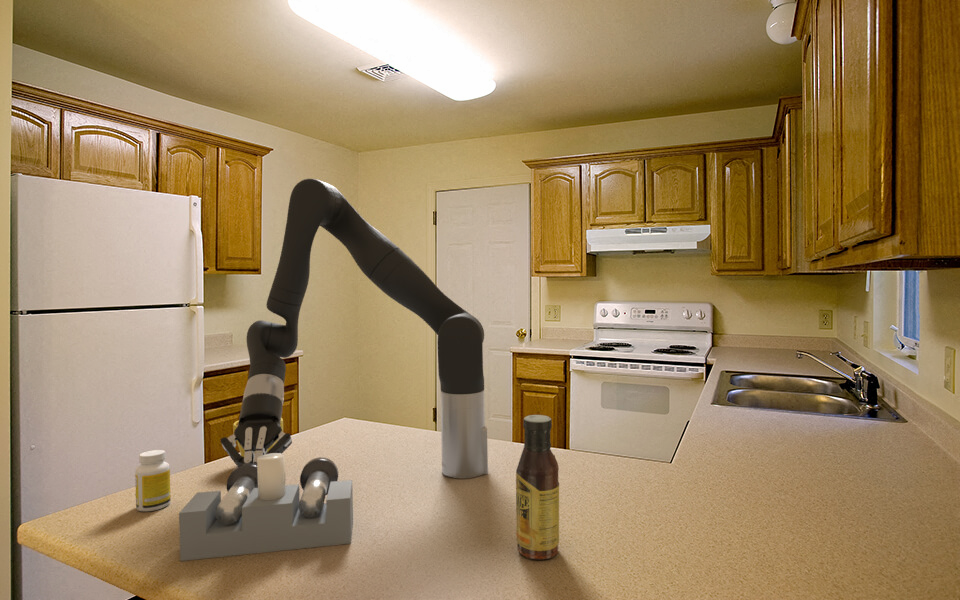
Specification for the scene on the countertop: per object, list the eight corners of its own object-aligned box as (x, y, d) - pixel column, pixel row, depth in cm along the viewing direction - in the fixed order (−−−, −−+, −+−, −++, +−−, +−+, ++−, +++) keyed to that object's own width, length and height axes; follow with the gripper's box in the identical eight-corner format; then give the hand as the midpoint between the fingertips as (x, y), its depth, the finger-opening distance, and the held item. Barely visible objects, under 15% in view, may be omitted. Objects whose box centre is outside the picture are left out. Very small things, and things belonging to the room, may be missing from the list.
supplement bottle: (177, 502, 100) (176, 449, 100) (151, 514, 95) (149, 458, 95) (155, 499, 102) (154, 447, 101) (128, 510, 97) (127, 456, 96)
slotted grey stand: (353, 521, 90) (352, 479, 90) (351, 543, 82) (350, 498, 82) (198, 536, 86) (197, 492, 86) (180, 561, 78) (178, 513, 78)
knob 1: (268, 497, 95) (267, 461, 95) (250, 531, 82) (249, 490, 81) (230, 500, 94) (229, 464, 94) (205, 536, 80) (203, 493, 80)
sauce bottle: (513, 543, 82) (511, 412, 81) (554, 540, 82) (552, 411, 82) (520, 565, 75) (518, 423, 75) (564, 562, 76) (562, 421, 75)
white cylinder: (287, 489, 86) (286, 452, 86) (283, 498, 82) (282, 459, 82) (261, 491, 86) (260, 454, 85) (255, 501, 82) (254, 461, 82)
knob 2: (338, 491, 98) (338, 456, 97) (332, 524, 84) (331, 483, 84) (301, 494, 96) (301, 458, 96) (289, 528, 83) (288, 486, 82)
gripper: (223, 393, 103) (204, 479, 92) (295, 390, 106) (286, 472, 94) (231, 414, 109) (214, 498, 97) (299, 411, 111) (292, 491, 99)
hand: (250, 485), depth 95 cm, fingers closed
